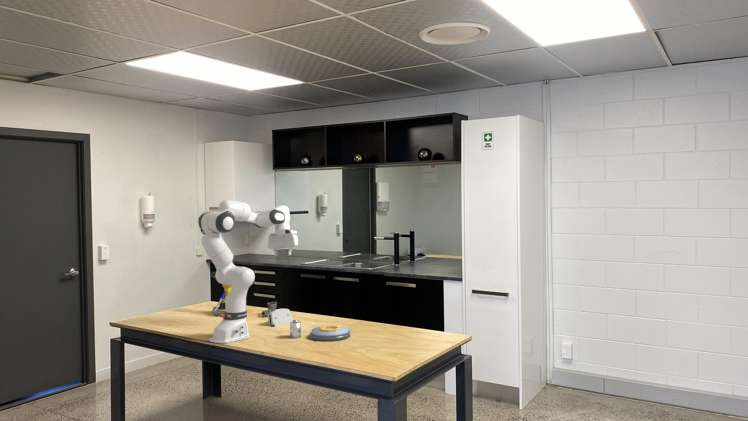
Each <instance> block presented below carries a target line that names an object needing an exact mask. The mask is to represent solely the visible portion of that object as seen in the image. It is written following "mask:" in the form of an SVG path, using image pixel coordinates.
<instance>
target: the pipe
mask: <svg viewBox="0 0 748 421" xmlns="http://www.w3.org/2000/svg"><path fill="white" fill-rule="evenodd" d="M277 305H278V302H277V301H271V302H270V301H269V302H267V309H266V310H262V311H261V316H262V317H268V314H270V313H271V312H273V311H275V310H277Z"/></svg>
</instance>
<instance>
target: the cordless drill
mask: <svg viewBox="0 0 748 421" xmlns="http://www.w3.org/2000/svg"><path fill="white" fill-rule="evenodd" d="M215 275H216V271H212V272H211V273H210V277H211V278H213V279H214V280H216V277H215ZM221 288H224V289H223V293H222V295H221V297H220V298H219V301H218V303H217V305H216V306H213V308H212V316H214V317H220V316H219V315H220V314H221V313H222V314H224V313H225V311H226V308H225V298H226V296H227V295H228V294H229V293H230V291H231V286H228V285H223V284H221Z"/></svg>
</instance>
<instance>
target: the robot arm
mask: <svg viewBox="0 0 748 421" xmlns="http://www.w3.org/2000/svg"><path fill="white" fill-rule="evenodd" d="M290 221H291V213H290V208H289V207H288V206H287V205H285V204H284V205H283V204H279V205H276V206H275V207H274V208H271V209H267V210H266V209H265V210H260V211H259V210H258V211H255V212H252V208H251V206H250V205H249V204H248V203H246V202H244V201H239V200H233V199H225V200H222V201H220V203H219V205H218V206H217V211H206V212H203V213H202V214H201V215H199V217H198V221H197V222H198V227H199V229H200V233H201V234H203V235H202V237H201V241H200V242H201V244H202V246H203V249H204V251H205V253H206V255H207V256H208V258H210V260H211V262H212V264H213V265H214V267H215V269H216V271H215V272H216V275H215V277H216V279H215V280H216V281H217V282H218V284H221V285H222V284H223V285H228V286H231V291H230V293H229V294H228V295H227V296H226V298H225V308H226V311H225V313H224V314H222V313H221V314H220V315H219V316H218V317H219V318H222V320H221V321H220V322H219V324H218V325H217V326H216V327H215V328H214V330H213V336H212V337H210V338H208V341H209V342H211V343H215V344H229V343H233V342H238V341H242V340H246V339H250V331H249V327H248V321H247V320H248V319H247V317H248V311H247V296H248V295H247V294H248V291H249V288H250V287H251V286H252V285H253V283H254V282H255V278H256V275H255V271H254V270H253V269H251V268H249V267H246V266H237V265H235V264H234V262H233V260H234V254H233V252H232V251H231V249H230V248H229V246H228V245H227V243H226V241H225V240H224V238H223V237H222V236H223V235H222V234H226V233H227V234H228V233H230V232H232V230H233V228H234V226H235V222H244V223H249V224H252V225H253V226H255V227H257V228H260V229H264V228H266V227H272V226H275V227H274V228H275V229H274V230H275V231H274V233H270V234H269V235H268V241H267V248H268V249H269V250H272V252H273V253H274V256H275V257H278V256H279V252H277V251H278V249H286V248H287V249H288V251H287V256H291V255H292V252H293V249H294V248H297V247H298V245H299V237H298V231H297V230H294V229H291V225H290Z"/></svg>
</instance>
